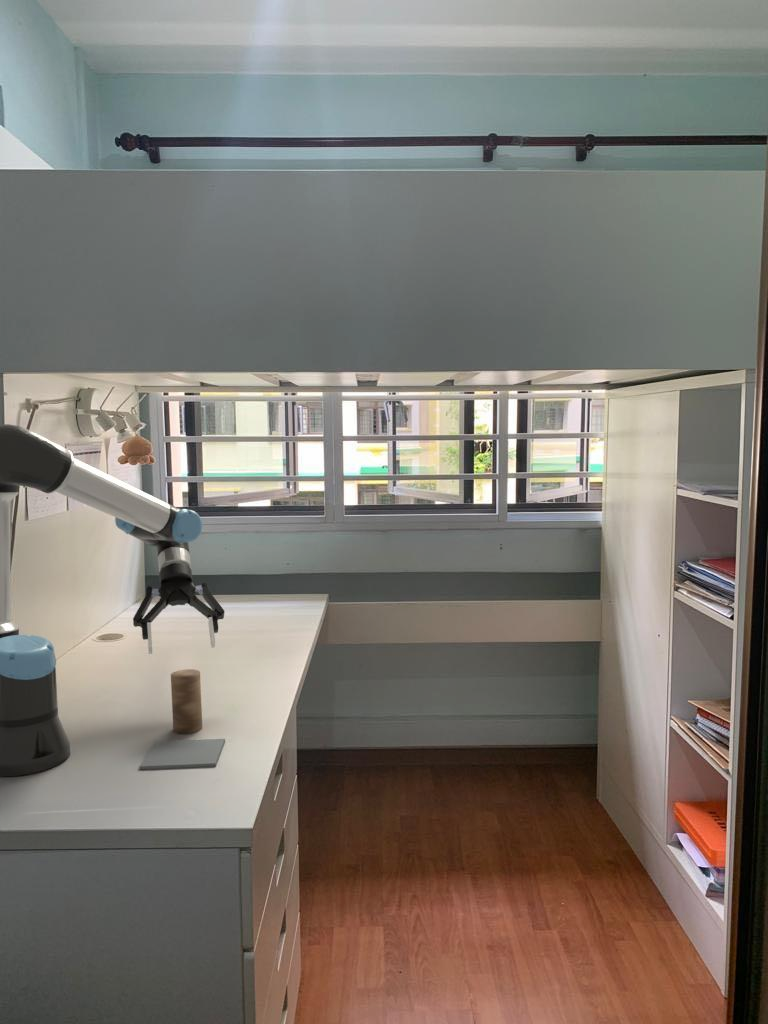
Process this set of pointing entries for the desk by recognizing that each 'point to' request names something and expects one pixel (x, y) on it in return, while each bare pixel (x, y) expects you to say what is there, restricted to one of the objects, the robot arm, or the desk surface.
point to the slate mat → (183, 754)
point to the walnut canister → (186, 701)
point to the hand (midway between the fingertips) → (182, 647)
